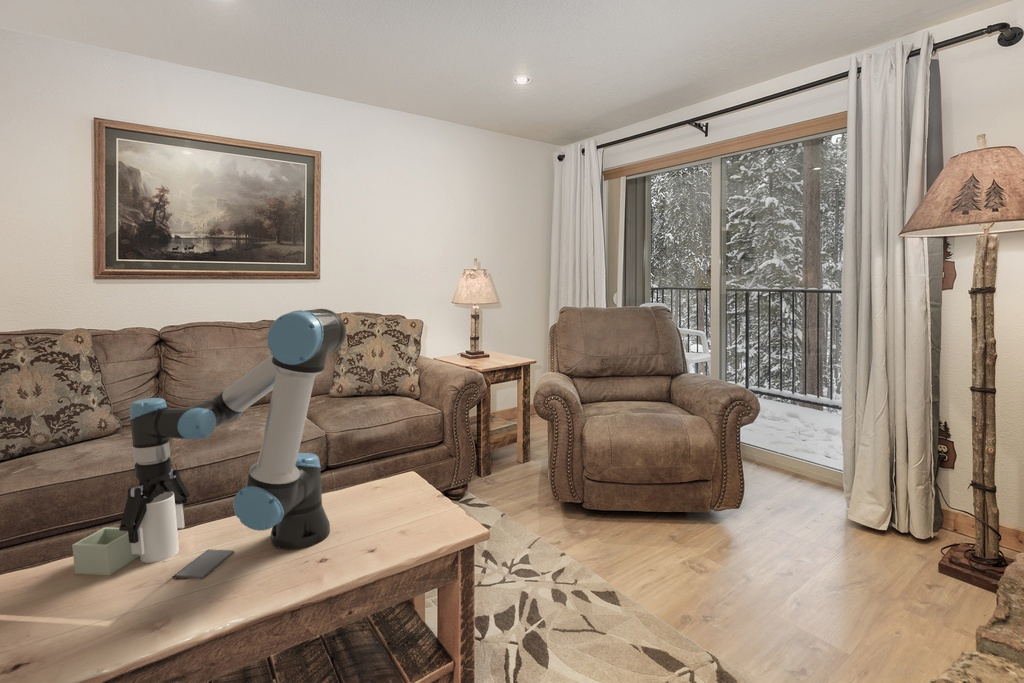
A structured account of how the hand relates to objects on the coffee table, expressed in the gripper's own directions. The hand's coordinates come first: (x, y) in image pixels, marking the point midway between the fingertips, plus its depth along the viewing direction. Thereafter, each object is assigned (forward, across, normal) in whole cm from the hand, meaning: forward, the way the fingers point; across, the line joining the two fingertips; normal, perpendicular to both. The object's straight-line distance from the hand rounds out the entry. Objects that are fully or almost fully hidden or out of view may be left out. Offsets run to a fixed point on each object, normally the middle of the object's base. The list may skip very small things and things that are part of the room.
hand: (159, 539), depth 133 cm
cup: (+4, 0, 0) cm, 5 cm away
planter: (+4, +6, -9) cm, 12 cm away
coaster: (+4, +3, +12) cm, 13 cm away
